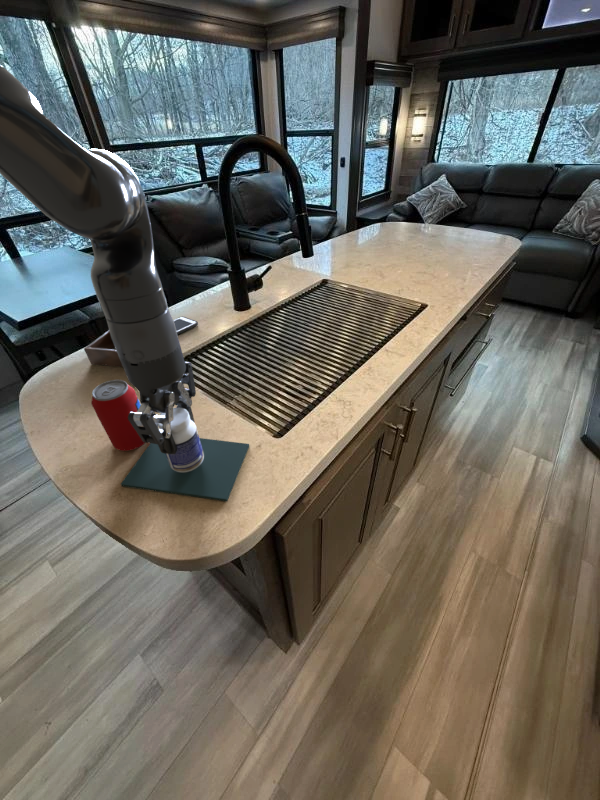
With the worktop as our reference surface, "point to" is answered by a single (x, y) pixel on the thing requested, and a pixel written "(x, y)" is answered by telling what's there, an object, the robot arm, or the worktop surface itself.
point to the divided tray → (103, 351)
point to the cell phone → (184, 324)
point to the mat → (201, 482)
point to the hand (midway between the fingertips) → (179, 437)
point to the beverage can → (117, 413)
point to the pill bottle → (184, 442)
